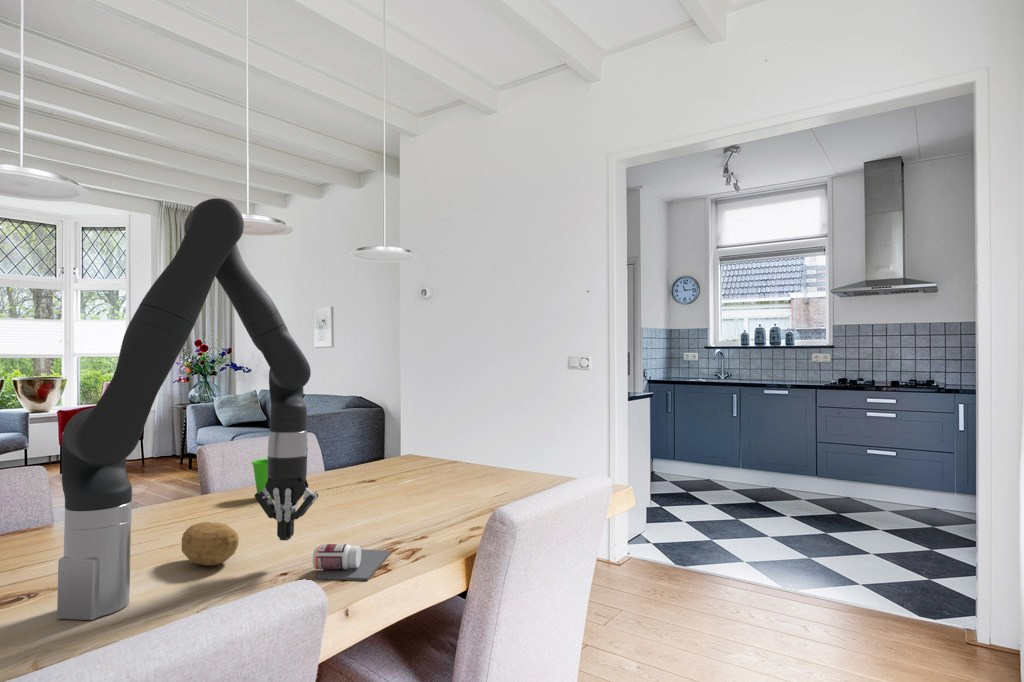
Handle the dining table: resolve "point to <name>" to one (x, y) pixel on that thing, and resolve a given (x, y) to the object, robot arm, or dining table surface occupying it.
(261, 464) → the cup
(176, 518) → the dining table surface
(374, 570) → the mat
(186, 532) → the potato
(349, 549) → the pill bottle
